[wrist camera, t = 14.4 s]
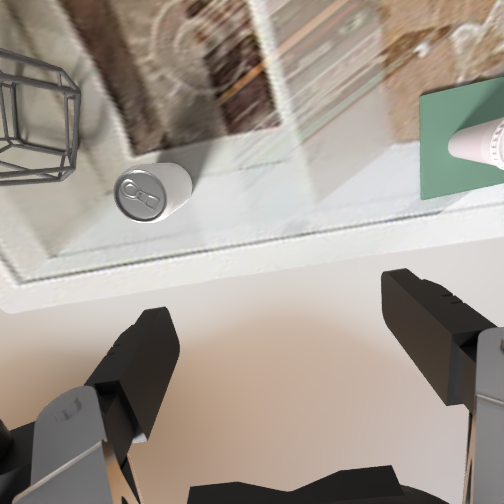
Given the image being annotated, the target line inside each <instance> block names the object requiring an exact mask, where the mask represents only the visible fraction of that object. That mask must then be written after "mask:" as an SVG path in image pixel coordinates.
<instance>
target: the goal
mask: <svg viewBox="0 0 504 504" xmlns="http://www.w3.org/2000/svg"><path fill="white" fill-rule="evenodd" d="M503 117H504V76H503V77H499V78H495V79H491V80H486V81H482V82H478V83H474V84H469V85H465V86H461V87H457V88H452V89H448V90H444V91H440V92H436V93H431V94H427V95H423V96H420V179H421V200H426V199H431V198H436V197H440V196H445V195H450V194H455V193H459V192H464V191H469V190H474V189H478V188H483V187H488V186H493V185H497V184H502V183H504V170H502V169H500V168H498V167H497V166H495V165H491V164H486V163H481V162H476V161H471V160H467V159H462V158H457V157H454V156H452V155H451V154H450V153H449V150H448V143H449V140H450V138H451V137H452V135H453V134H454V133H456V132H457V131H459V130H462V129H465V128H468V127H472V126H475V125H479V124H482V123H486V122H489V121H493V120H496V119H499V118H503Z"/></svg>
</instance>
